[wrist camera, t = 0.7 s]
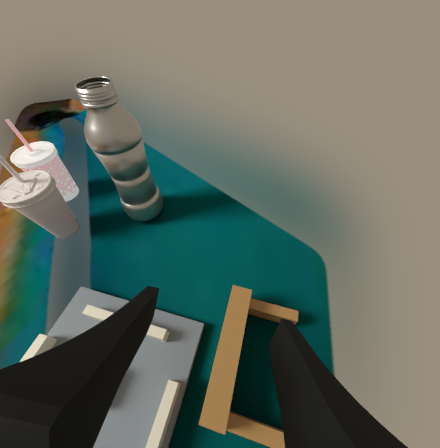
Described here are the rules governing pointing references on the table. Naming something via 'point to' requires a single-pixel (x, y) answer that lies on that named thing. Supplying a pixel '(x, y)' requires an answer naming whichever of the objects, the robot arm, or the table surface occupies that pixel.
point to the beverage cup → (44, 163)
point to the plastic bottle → (119, 147)
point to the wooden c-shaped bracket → (227, 369)
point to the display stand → (135, 370)
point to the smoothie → (38, 200)
